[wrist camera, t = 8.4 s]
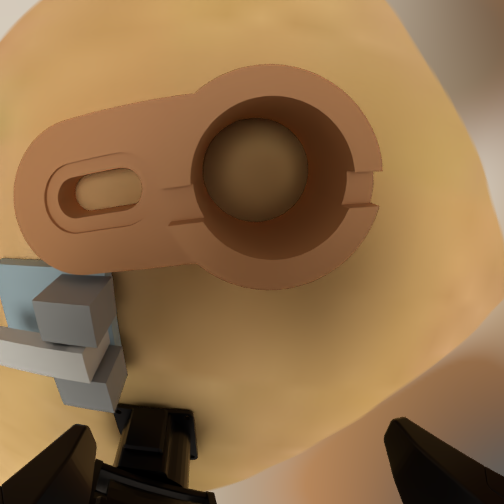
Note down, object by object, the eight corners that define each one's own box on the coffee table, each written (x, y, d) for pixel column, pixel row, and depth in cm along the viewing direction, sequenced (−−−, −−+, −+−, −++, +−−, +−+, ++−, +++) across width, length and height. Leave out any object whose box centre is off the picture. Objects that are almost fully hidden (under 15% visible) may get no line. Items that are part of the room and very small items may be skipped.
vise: (132, 368, 20) (114, 422, 15) (26, 353, 19) (-5, 394, 14) (117, 262, 18) (84, 302, 13) (2, 258, 17) (-44, 287, 12)
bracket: (321, 95, 16) (373, 68, 10) (329, 234, 19) (380, 275, 12) (31, 140, 15) (-41, 142, 9) (51, 264, 18) (-7, 311, 11)
